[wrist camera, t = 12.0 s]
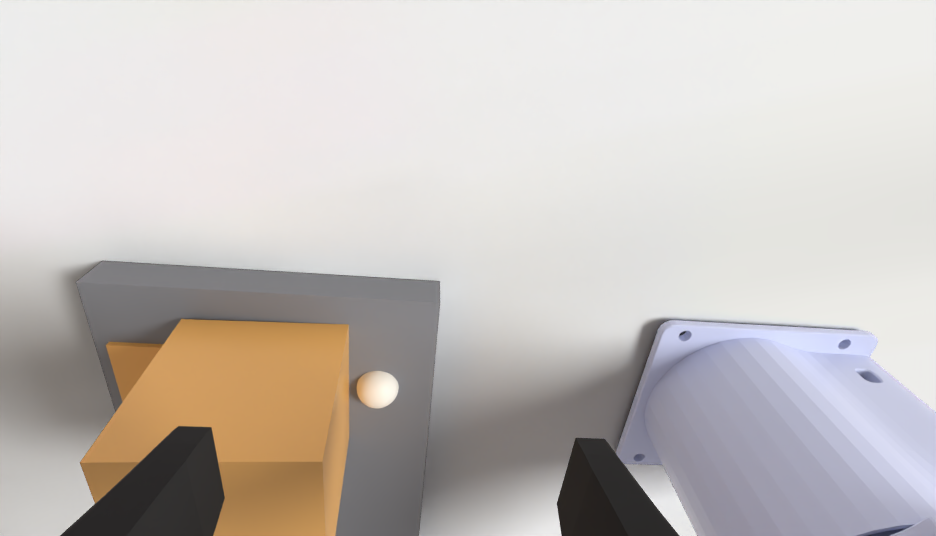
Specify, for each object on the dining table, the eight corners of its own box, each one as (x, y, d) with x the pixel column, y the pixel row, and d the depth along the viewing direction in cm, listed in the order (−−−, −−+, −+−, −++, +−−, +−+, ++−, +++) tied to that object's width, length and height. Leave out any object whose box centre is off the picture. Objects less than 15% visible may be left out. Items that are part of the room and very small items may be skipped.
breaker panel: (439, 281, 19) (440, 315, 17) (412, 586, 28) (410, 631, 26) (102, 260, 18) (59, 294, 16) (190, 586, 27) (171, 633, 25)
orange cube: (348, 324, 18) (322, 461, 13) (349, 436, 21) (327, 588, 15) (181, 319, 17) (79, 462, 12) (204, 436, 20) (129, 596, 15)
